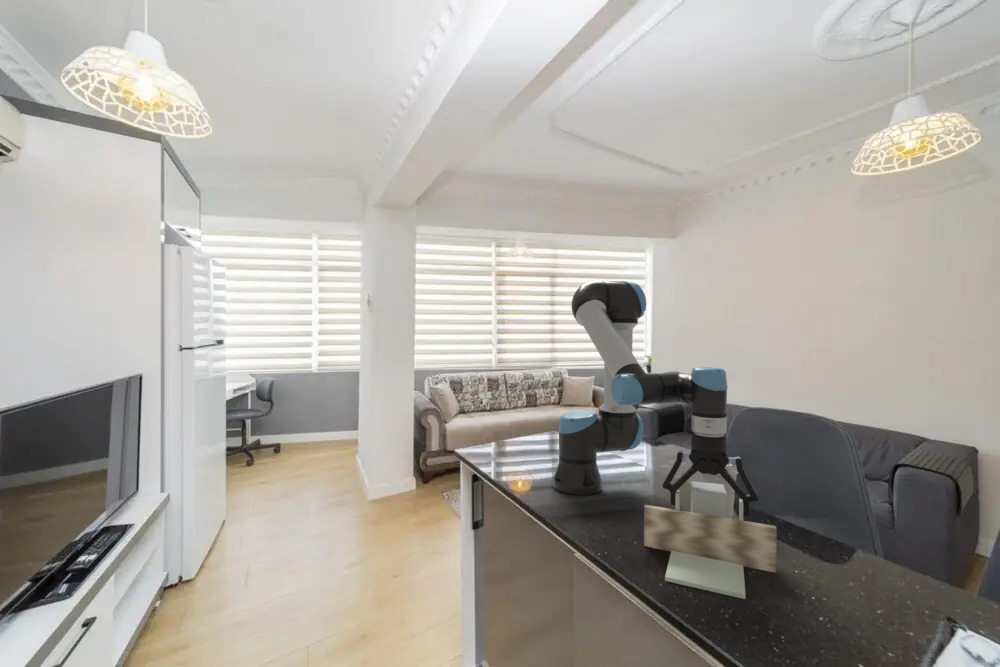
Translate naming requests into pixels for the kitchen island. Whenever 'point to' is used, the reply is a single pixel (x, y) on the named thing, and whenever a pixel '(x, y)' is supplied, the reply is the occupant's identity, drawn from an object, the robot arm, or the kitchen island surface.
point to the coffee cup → (720, 480)
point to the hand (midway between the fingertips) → (708, 524)
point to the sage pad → (706, 574)
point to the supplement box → (708, 499)
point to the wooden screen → (711, 537)
